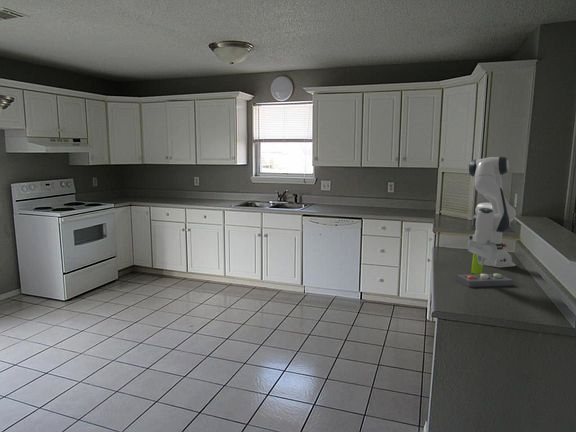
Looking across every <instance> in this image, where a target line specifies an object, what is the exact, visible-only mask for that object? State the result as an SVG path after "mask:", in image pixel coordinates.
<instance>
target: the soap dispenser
mask: <svg viewBox="0 0 576 432" xmlns="http://www.w3.org/2000/svg"><path fill="white" fill-rule="evenodd" d="M471 260H472V261H471V270H470V273H471V274H483V267H484V265H481V264H479V263H478V259H477V255H476V254H474V253H472V259H471Z"/></svg>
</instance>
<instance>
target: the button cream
mask: <svg viewBox="0 0 576 432" xmlns="http://www.w3.org/2000/svg"><path fill="white" fill-rule="evenodd" d="M487 274H488V273H482V274H480V278H482V279H488V276H489V275H487Z"/></svg>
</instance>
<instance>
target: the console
mask: <svg viewBox="0 0 576 432" xmlns="http://www.w3.org/2000/svg"><path fill="white" fill-rule="evenodd" d="M486 274H487V275H489V276H488V279H482V278H480V274H474V273H471V274H456V275H455V281H457V282H458V283H460V284H462V285H463V286H465V287H468V288H477V287H507V286H510V287H511V286H513V285H514V280H513V279H512V278H509V277H507V276H505V275H502V277H501V278H497V279H496V278H494V277H493V274H494V273H486ZM467 276H474V277H475V279H468V278H467Z"/></svg>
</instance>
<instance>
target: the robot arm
mask: <svg viewBox="0 0 576 432" xmlns="http://www.w3.org/2000/svg"><path fill="white" fill-rule="evenodd" d="M509 169H510V162H509V160H508V158H507V157H506V156H490V157H489V156H488V157H484V158H479V159H472V160H471V161H470V162H469V163H468V167H467V171H468V173H469V175H470V176H471V177H473V178H474V180H473V181H474V182H473V183H474V189H475V190H476V191H477V192H478V194H480V195H483V197H484V198H485V199H486V200H488V201H489V202H480V203H478V204H477V205H476V207H475V209H474V210H475V211H474V212H475V214H474V215H473V216H472V224H471V227H472V228H473V229H474V230H475V231H474V234H469V235H468V241H467V251H468V252H469V253H471V254H473V253H474V254H476V255H477V259H478V263H479V264H481V265H483V266H488V267H495V268H506V267H507V268H508V267H516V264H515V262H512V261H513V259H512V255H511V254H510V253H508V251H506V250H505V249H504V248H507V247H508V244H506V243H502V241H503V233H505V232H506V231H508V230H509V229H510V226H511V223H512V222H513V221H514V220H515V218H516V216H517V211H516V209H515V207H513V206H512V205H511V204H510V202H508V200H507V198H506V196H505V194H504V186H503V179H502V175H504V174H507V173H508V171H509Z"/></svg>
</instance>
